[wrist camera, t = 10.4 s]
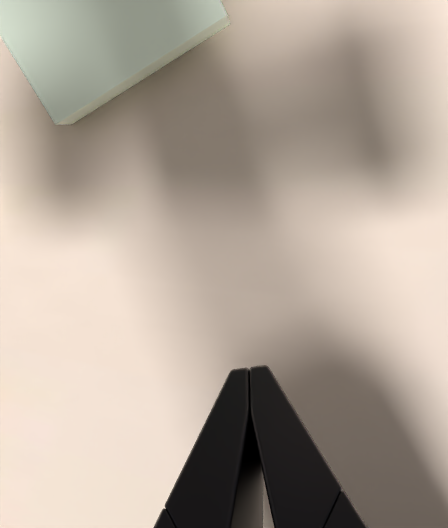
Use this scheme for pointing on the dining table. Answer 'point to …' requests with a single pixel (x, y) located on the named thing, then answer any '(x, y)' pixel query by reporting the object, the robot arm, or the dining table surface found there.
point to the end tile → (100, 45)
